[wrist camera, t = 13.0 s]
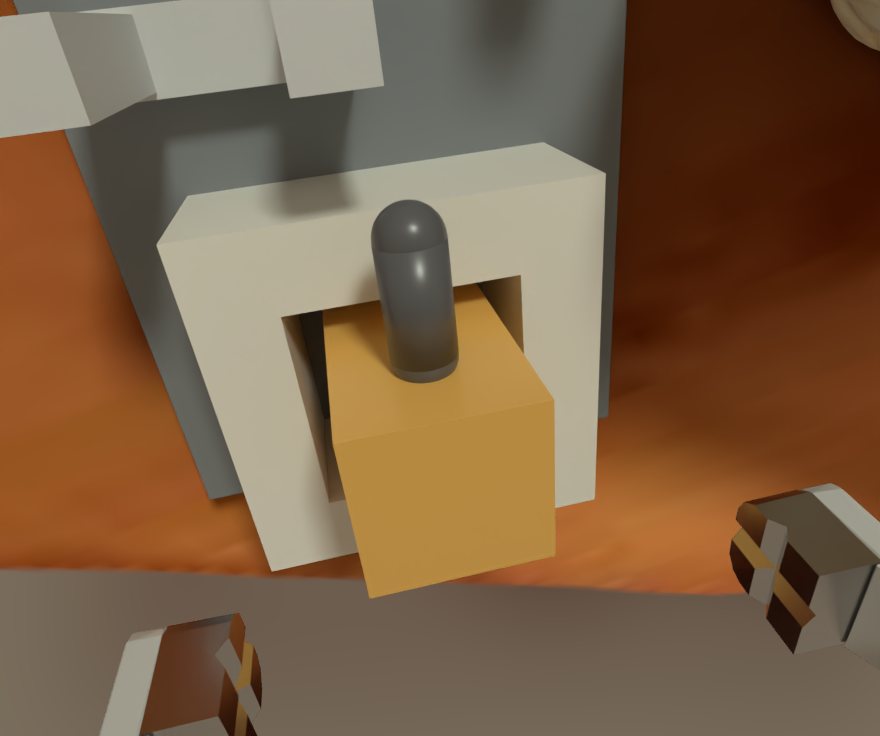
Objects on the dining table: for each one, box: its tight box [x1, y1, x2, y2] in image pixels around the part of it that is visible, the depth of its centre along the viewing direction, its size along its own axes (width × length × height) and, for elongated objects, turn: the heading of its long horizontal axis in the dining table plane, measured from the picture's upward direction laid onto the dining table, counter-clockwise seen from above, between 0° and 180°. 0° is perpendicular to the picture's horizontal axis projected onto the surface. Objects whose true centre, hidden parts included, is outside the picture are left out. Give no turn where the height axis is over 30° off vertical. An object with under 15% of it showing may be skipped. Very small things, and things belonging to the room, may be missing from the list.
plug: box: [322, 199, 556, 599], centre depth 14 cm, size 4×7×8 cm, turn 6°
